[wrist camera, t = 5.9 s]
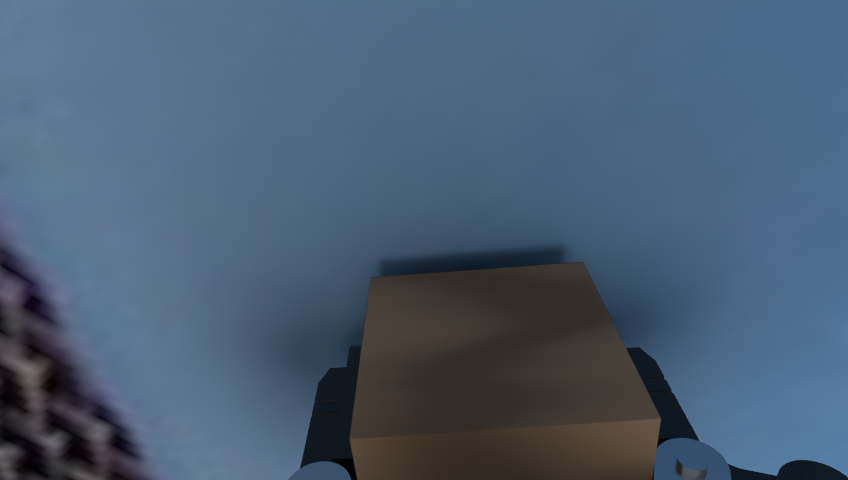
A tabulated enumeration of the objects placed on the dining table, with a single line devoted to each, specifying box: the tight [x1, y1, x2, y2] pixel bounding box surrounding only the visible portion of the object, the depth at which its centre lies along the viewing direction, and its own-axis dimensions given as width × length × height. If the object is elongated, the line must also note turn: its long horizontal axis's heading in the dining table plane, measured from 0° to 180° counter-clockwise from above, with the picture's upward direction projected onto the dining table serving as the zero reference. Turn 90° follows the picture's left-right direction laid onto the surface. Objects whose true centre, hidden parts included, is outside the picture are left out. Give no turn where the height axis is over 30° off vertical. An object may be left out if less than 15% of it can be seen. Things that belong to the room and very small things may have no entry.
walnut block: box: [350, 262, 661, 480], centre depth 13 cm, size 5×5×5 cm
